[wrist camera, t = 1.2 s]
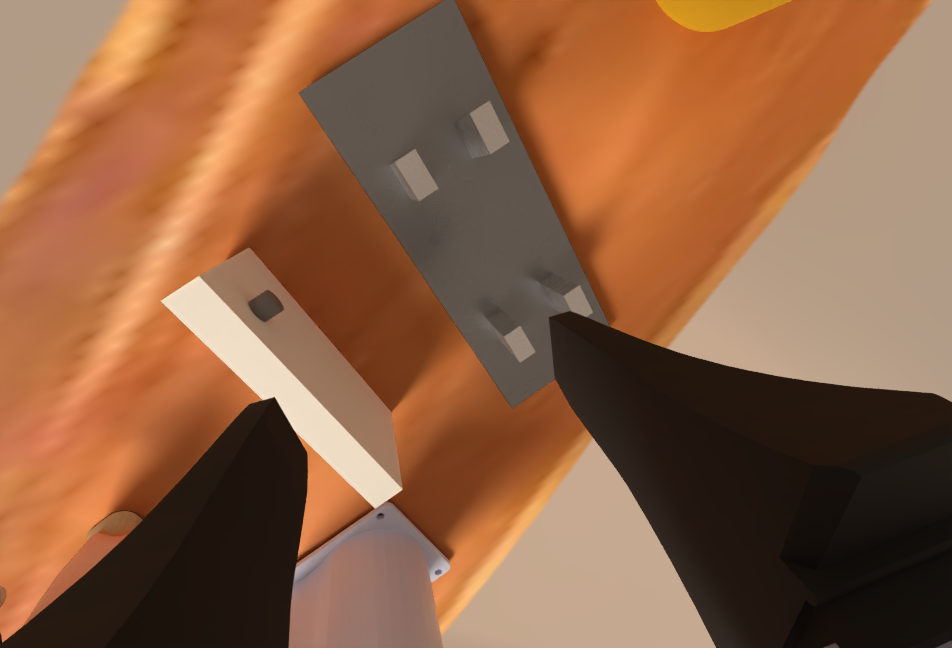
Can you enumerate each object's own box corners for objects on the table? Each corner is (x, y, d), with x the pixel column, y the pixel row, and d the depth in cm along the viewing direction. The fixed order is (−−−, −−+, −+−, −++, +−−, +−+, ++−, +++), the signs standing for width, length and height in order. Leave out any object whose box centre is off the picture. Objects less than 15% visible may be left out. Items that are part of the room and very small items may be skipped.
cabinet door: (370, 425, 25) (375, 508, 18) (223, 263, 20) (160, 301, 14) (402, 403, 25) (417, 479, 19) (263, 237, 20) (219, 262, 14)
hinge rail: (506, 399, 27) (530, 435, 23) (301, 98, 19) (287, 75, 15) (604, 331, 27) (645, 355, 23) (446, 6, 19) (469, -39, 15)
